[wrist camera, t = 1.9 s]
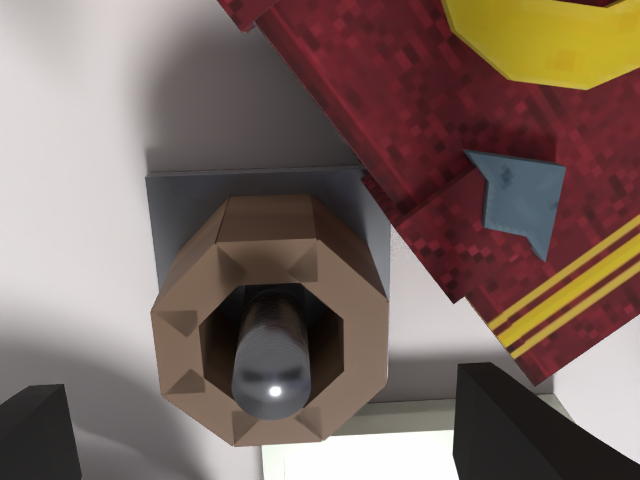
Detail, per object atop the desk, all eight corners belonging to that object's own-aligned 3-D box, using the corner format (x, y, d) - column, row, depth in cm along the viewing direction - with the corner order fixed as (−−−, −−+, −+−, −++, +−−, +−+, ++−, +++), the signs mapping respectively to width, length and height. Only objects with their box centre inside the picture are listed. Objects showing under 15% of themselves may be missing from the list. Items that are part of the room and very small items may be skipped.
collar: (368, 191, 16) (389, 235, 13) (368, 361, 18) (386, 438, 15) (171, 198, 16) (141, 245, 13) (190, 370, 18) (168, 450, 15)
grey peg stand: (388, 164, 17) (435, 230, 11) (385, 369, 19) (423, 503, 14) (149, 172, 16) (85, 244, 11) (174, 379, 18) (131, 520, 13)
